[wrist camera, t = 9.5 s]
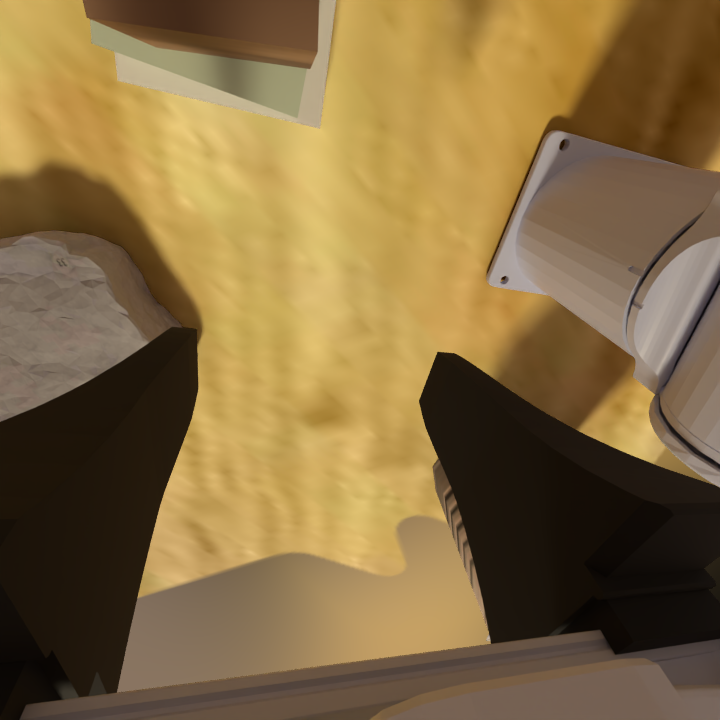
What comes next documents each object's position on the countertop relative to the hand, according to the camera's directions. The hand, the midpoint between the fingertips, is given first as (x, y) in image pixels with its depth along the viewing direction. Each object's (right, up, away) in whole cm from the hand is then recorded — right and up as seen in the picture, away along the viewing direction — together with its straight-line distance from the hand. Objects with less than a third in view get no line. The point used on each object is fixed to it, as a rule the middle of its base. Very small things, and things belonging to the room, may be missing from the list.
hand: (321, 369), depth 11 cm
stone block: (-15, +3, +9) cm, 18 cm away
